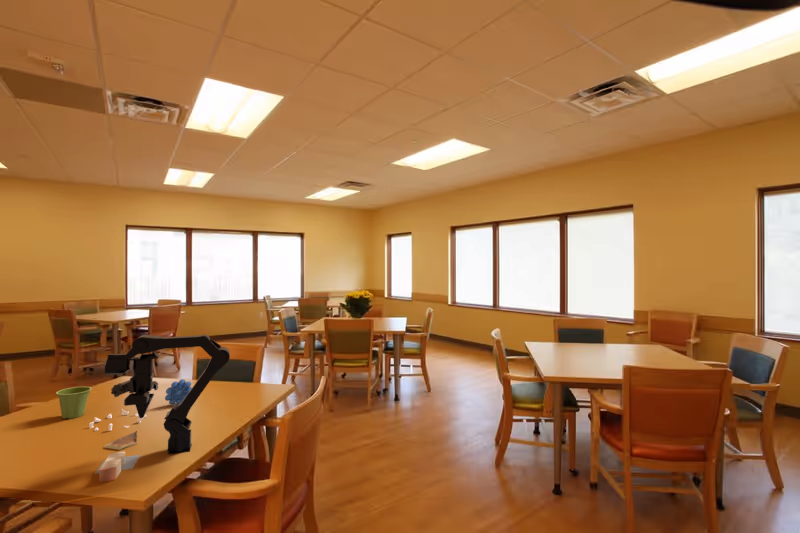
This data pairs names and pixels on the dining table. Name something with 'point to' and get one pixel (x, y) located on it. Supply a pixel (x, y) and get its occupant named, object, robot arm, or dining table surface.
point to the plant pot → (73, 401)
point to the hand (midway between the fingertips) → (141, 417)
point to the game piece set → (111, 417)
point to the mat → (126, 463)
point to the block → (112, 466)
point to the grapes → (178, 392)
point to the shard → (123, 442)
